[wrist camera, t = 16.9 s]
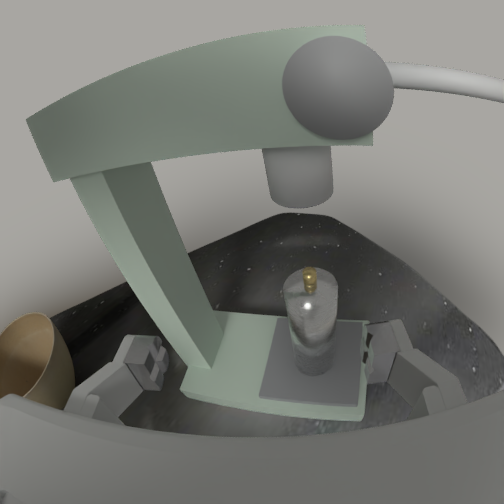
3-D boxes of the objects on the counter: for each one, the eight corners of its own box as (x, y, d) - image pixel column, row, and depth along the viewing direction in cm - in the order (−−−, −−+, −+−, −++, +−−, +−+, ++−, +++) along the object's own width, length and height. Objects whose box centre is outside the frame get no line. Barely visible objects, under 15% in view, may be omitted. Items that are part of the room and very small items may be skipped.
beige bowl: (63, 453, 32) (9, 425, 24) (17, 402, 39) (-25, 370, 31) (113, 372, 44) (71, 331, 36) (60, 338, 51) (25, 300, 43)
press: (178, 395, 39) (-2, 137, 14) (207, 320, 49) (106, 77, 24) (451, 418, 28) (627, 106, 3) (444, 331, 38) (515, 51, 12)
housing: (291, 374, 35) (275, 292, 25) (298, 341, 39) (285, 251, 28) (331, 377, 34) (336, 295, 23) (335, 343, 37) (339, 252, 27)
